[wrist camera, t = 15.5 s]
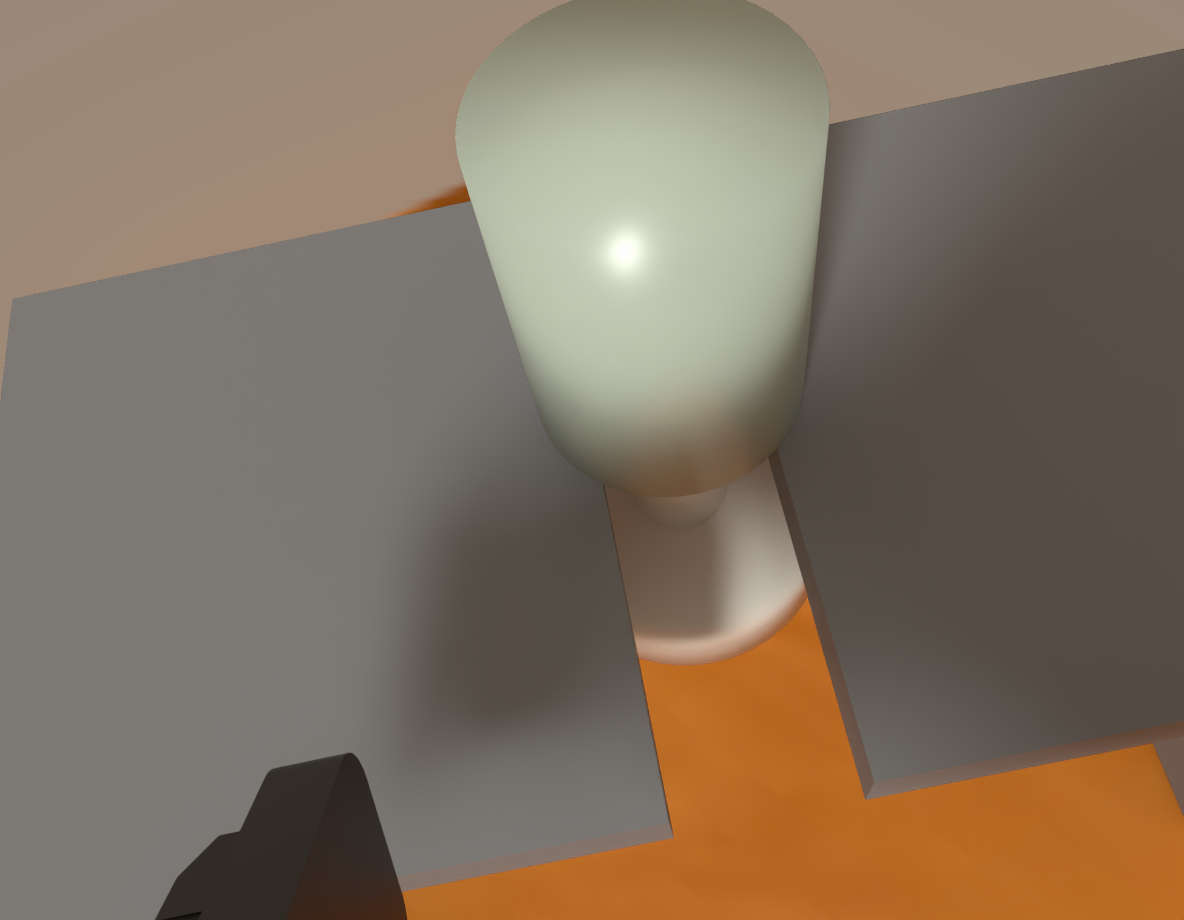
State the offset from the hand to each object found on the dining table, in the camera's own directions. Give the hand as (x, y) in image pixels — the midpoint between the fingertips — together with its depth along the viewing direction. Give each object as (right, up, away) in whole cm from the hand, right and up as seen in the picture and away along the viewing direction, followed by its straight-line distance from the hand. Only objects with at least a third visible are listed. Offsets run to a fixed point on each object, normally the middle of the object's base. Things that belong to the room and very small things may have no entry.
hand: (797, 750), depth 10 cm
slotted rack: (0, -1, +15) cm, 15 cm away
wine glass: (0, +1, +10) cm, 10 cm away
